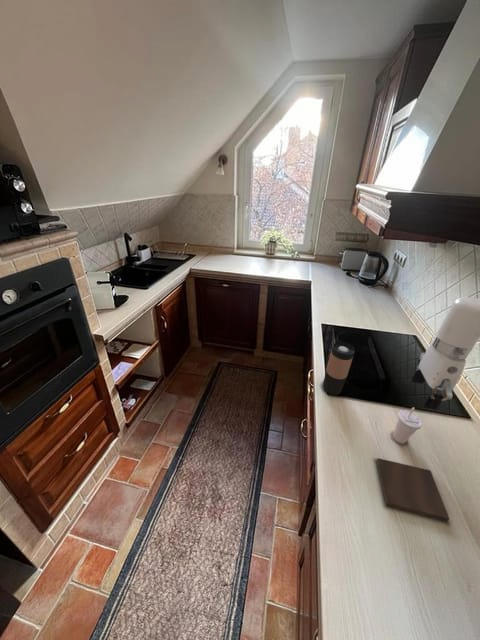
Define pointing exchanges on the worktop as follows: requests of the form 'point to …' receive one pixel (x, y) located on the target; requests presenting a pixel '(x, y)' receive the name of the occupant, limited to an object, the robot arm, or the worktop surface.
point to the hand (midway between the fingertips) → (422, 394)
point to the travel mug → (338, 367)
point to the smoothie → (406, 425)
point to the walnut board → (410, 489)
